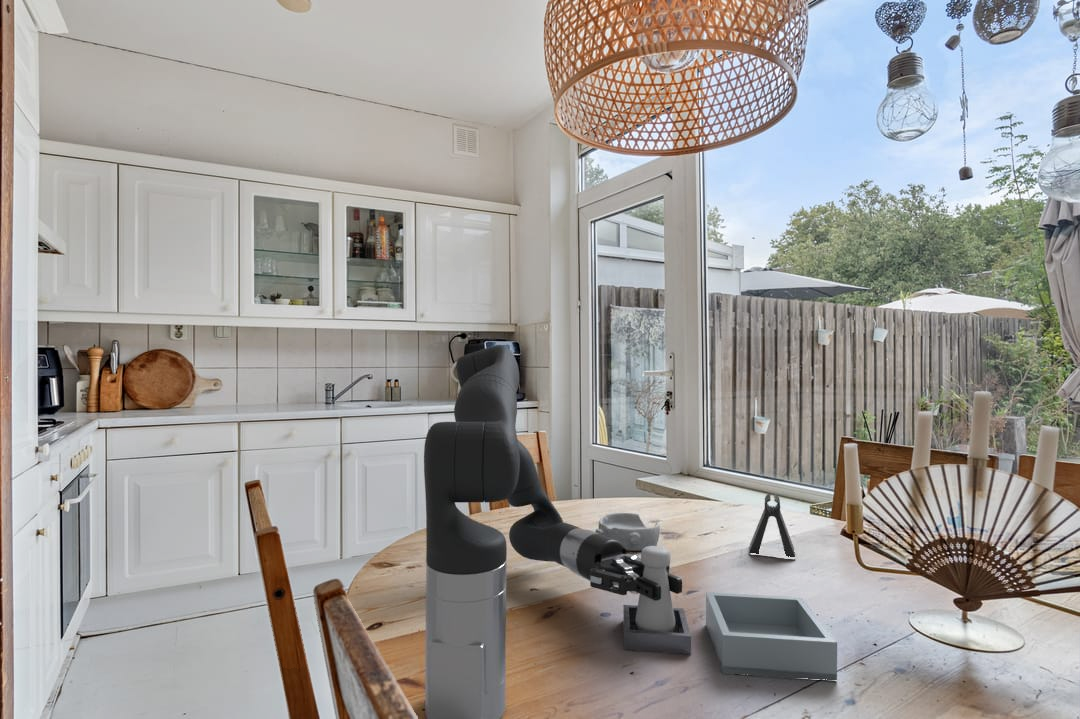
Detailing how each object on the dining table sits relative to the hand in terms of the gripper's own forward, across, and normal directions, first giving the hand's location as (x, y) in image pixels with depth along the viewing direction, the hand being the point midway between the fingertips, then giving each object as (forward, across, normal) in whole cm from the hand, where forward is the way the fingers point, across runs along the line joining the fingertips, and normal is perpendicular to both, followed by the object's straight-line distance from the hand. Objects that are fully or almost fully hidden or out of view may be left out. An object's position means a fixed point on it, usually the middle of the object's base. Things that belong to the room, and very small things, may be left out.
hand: (669, 589), depth 83 cm
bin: (+9, +10, +8) cm, 15 cm away
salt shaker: (-3, 0, +8) cm, 8 cm away
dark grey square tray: (-3, 0, +8) cm, 8 cm away
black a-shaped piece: (-15, +48, +8) cm, 51 cm away
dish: (-37, +27, +8) cm, 47 cm away
